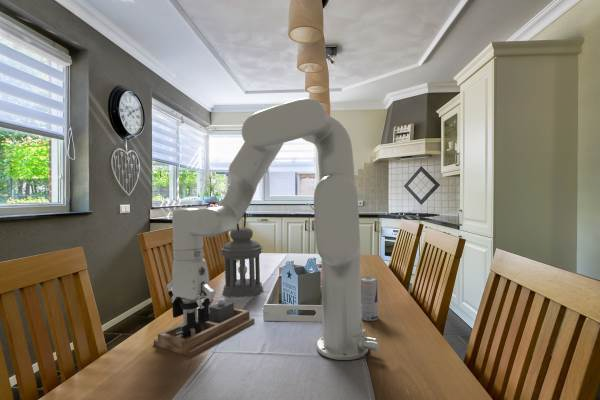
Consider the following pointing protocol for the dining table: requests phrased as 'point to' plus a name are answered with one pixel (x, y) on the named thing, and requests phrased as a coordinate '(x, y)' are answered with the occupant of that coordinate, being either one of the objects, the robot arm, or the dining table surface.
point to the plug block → (221, 311)
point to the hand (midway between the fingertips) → (190, 319)
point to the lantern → (242, 263)
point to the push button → (189, 318)
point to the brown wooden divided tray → (203, 334)
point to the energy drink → (369, 299)
